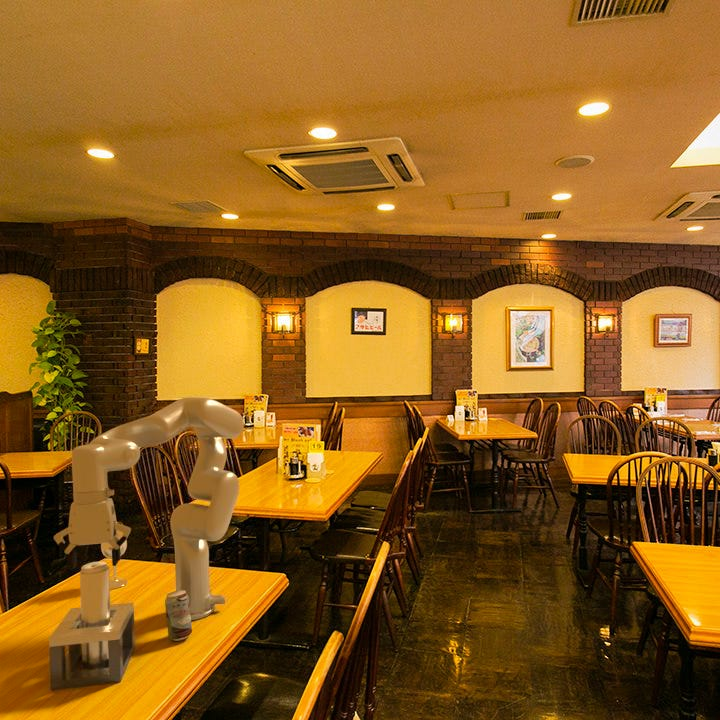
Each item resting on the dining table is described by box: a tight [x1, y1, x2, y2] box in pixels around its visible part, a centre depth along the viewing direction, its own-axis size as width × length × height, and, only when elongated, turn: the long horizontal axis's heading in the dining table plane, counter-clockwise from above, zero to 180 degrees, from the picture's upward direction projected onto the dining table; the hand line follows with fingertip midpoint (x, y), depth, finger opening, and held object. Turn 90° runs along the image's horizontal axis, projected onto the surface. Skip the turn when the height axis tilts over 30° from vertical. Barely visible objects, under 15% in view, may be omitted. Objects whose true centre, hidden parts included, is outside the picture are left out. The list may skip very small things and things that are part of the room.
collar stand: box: [48, 601, 136, 691], centre depth 135 cm, size 15×15×12 cm
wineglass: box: [100, 521, 128, 590], centre depth 185 cm, size 8×8×20 cm
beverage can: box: [164, 590, 193, 642], centre depth 149 cm, size 6×7×12 cm
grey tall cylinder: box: [79, 561, 112, 671], centre depth 136 cm, size 6×6×25 cm
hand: (94, 565), depth 135 cm, fingers open, 9 cm apart
